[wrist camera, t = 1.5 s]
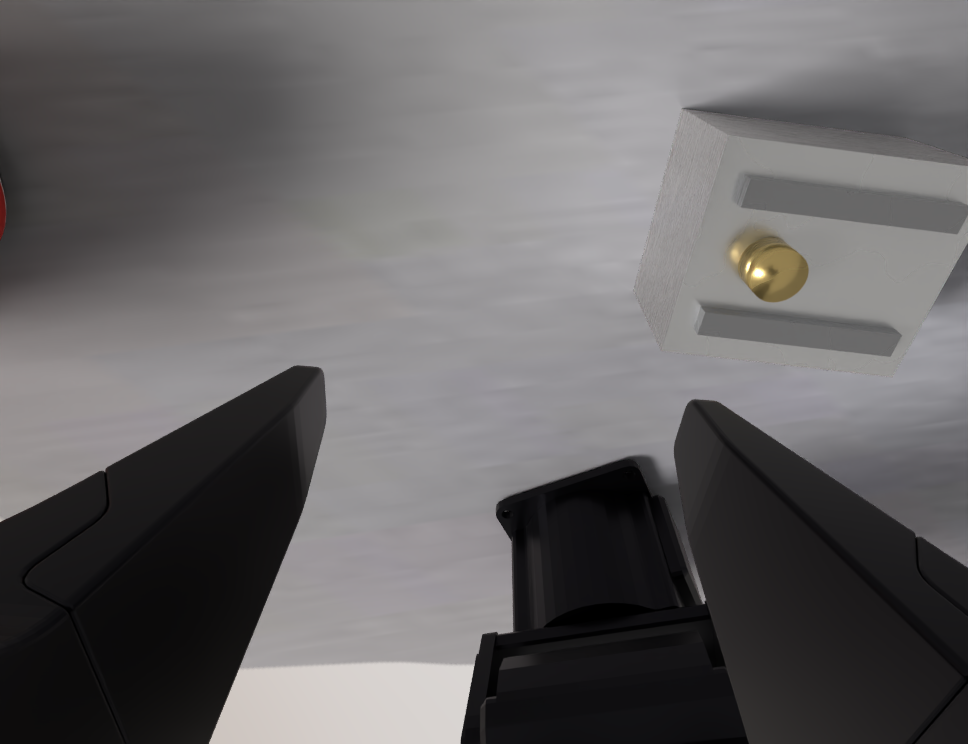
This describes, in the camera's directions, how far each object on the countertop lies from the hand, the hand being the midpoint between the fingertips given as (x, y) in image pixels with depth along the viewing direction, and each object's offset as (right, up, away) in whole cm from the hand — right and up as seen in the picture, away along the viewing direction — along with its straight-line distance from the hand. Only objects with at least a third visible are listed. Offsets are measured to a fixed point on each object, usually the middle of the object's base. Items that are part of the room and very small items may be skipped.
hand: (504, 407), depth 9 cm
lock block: (+9, +6, +11) cm, 15 cm away
